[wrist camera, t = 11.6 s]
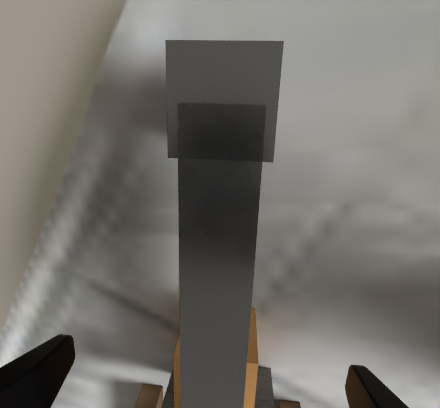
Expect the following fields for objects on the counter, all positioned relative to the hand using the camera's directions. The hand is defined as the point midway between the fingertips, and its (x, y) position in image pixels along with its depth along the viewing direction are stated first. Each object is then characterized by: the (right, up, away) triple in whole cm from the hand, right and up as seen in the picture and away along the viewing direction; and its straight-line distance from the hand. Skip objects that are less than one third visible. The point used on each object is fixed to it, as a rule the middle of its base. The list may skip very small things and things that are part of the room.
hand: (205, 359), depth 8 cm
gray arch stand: (+1, +1, +9) cm, 9 cm away
